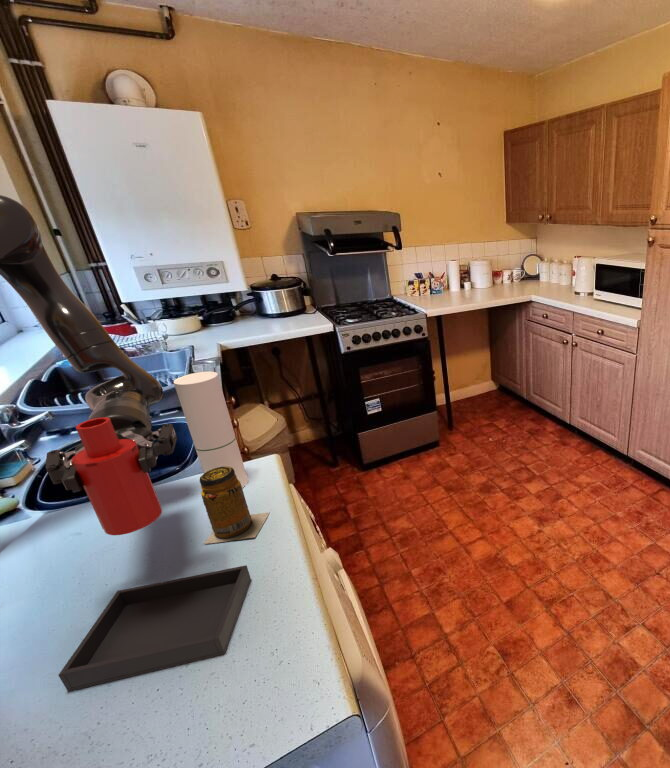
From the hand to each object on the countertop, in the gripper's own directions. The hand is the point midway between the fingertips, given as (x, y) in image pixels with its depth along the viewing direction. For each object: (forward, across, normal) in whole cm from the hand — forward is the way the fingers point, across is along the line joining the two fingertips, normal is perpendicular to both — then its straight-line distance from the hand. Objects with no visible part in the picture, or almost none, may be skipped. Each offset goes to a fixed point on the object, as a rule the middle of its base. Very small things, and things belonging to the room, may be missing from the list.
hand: (110, 475), depth 55 cm
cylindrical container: (-32, +11, +24) cm, 42 cm away
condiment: (-15, +11, +24) cm, 30 cm away
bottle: (-2, 0, +8) cm, 9 cm away
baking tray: (+4, 0, +24) cm, 24 cm away
